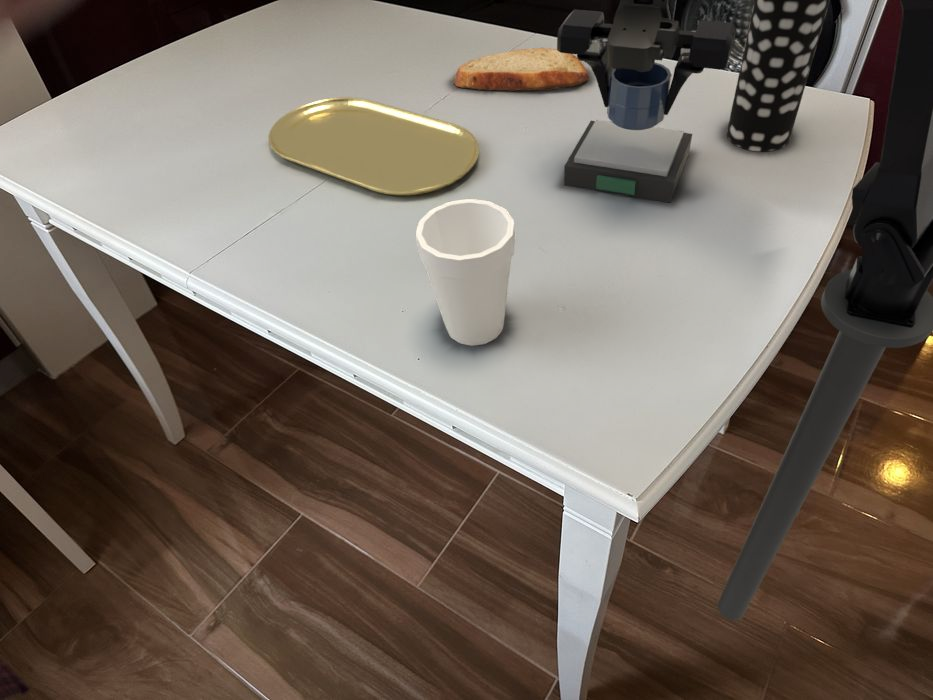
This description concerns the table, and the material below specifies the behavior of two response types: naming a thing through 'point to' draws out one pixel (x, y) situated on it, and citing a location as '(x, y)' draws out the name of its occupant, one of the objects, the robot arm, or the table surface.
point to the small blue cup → (638, 97)
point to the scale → (628, 160)
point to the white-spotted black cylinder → (774, 71)
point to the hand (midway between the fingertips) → (636, 109)
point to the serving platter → (375, 145)
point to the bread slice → (522, 71)
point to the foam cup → (468, 266)
